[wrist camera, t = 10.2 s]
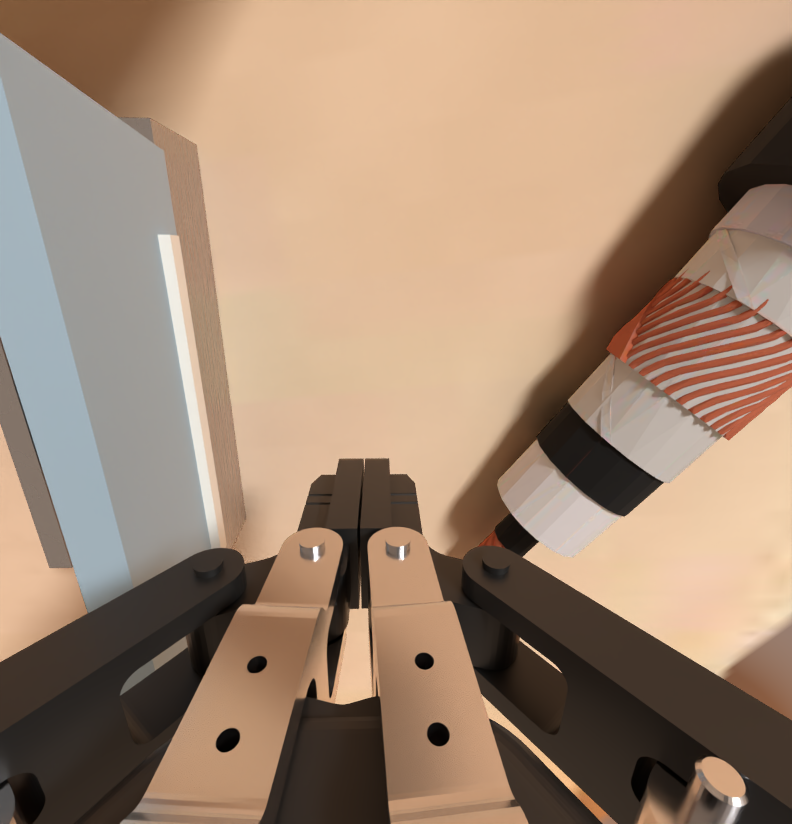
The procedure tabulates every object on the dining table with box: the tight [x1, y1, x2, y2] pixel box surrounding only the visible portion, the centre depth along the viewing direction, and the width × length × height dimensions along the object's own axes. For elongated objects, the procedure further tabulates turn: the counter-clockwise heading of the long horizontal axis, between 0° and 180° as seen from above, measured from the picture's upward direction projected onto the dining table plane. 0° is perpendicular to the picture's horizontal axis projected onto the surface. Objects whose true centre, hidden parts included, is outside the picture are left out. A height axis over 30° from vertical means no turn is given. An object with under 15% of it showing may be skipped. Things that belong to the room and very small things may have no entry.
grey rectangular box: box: [0, 117, 246, 568], centre depth 22 cm, size 21×9×4 cm, turn 179°
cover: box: [0, 33, 227, 695], centre depth 15 cm, size 20×11×2 cm
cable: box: [478, 97, 792, 557], centre depth 21 cm, size 10×34×10 cm, turn 146°
